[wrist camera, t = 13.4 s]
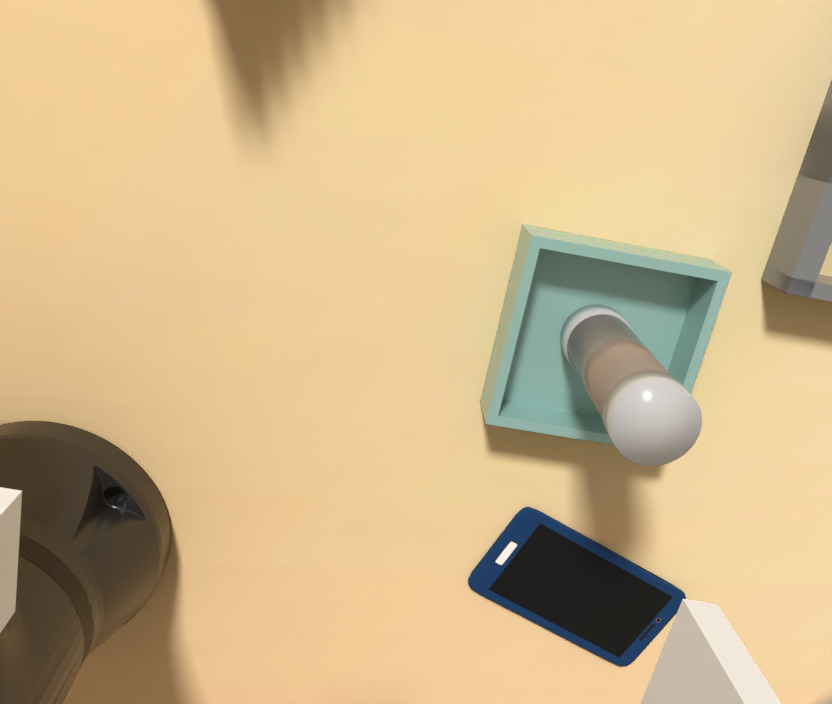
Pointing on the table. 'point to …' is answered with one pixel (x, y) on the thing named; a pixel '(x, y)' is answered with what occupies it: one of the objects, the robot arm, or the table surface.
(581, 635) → the cell phone
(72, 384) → the table surface
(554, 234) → the parts tray
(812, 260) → the block
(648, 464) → the fuse
